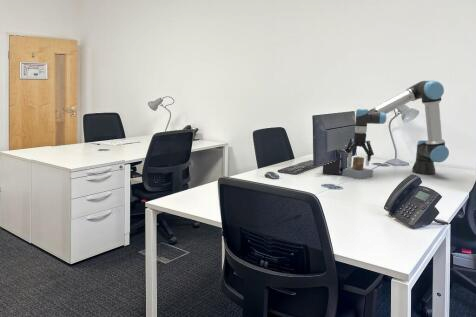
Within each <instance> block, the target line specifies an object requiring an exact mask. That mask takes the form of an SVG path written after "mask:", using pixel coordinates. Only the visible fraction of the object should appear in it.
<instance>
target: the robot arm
mask: <svg viewBox="0 0 476 317" xmlns="http://www.w3.org/2000/svg"><path fill="white" fill-rule="evenodd" d="M444 93H445V88H444V86H443V84H442V83H441V82H439V81H437V80H422V81H419V82H417V83H415V84H413V85H411V86H410V87H407V88H406V89H405V91H404V92H402V93H400V94H397V95H396V96H393V97H392V98H391V99H389V100H386V101H385V102H383V103H380V104H379V105H377V106H375V107H373V108H371V109H370V110H369V109H367V108H358V109H357V108H356V111H355V121H354V122H355V123H354V124H355V125H354V137H353V138H350V139H349V141H348V144H347V145H346V146H347V148H346V149H345V151H346V152H347V157H348V163H350V162H351V155H352V156H353V150H354V149H356V147H360V148H362V149H363V150H364V152H365V154H366V158H365V159H366V160H365V167H369V166H370V161H371V159H372V156H374V154H375V153H374V151H373V147H372V145H371V140H367V132H368V131H367V130H368V124H370V125H371V124H373V125H377V124H378V125H381V124H383V125H384V124H385V123H386V122H387V114H388V113H390V112H393V111H394V110H396V109H398V108H399V107H402V106H404V105H406V104H408V103H410V102H415V101H417V100H420V99H421V103H422V104H423V105H424V112H425V122H426V134H427V135H426V136H427V140H421V139H420V140H418V141H417V144H416V153H415V162H414V164H413V166H412V169H411V170H412V171H411V172H412V173H413V174H414V173H415V174H419V175H435V174H436V167H435V164H434V163H442V162H444V161H446V160H447V159H448V157H449V155H450V154H449V153H450V151H449V148H448V147H447V146H446V142H445V140H444V139H443V136H442V134H443V133H442V122H441V121H442V120H441V112H440V103H441V101H442V97H443V95H444ZM351 151H352V153H351Z"/></svg>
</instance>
